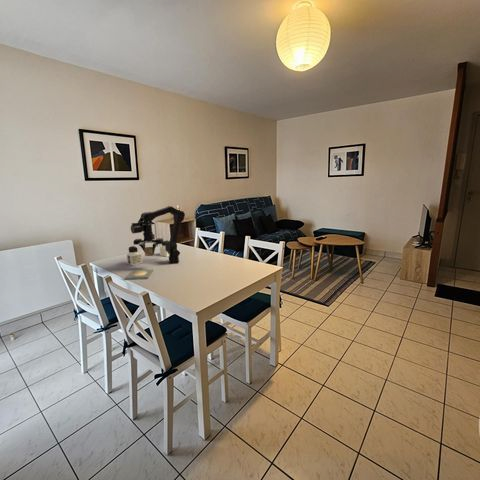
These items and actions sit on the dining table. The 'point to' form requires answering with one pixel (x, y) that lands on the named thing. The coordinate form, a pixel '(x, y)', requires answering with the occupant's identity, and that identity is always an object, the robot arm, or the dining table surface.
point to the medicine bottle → (162, 249)
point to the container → (134, 256)
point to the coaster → (139, 274)
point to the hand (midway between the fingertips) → (149, 253)
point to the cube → (149, 251)
